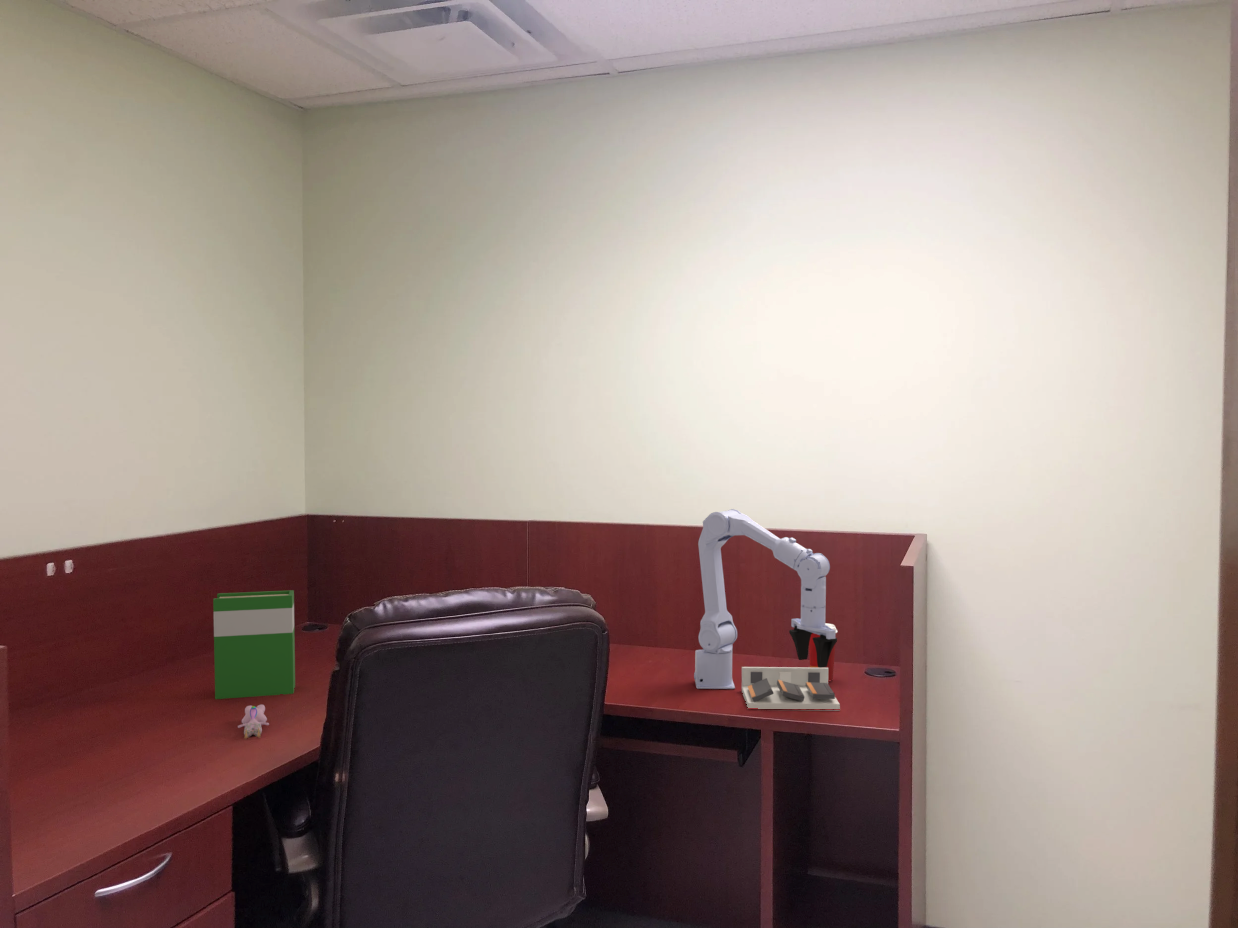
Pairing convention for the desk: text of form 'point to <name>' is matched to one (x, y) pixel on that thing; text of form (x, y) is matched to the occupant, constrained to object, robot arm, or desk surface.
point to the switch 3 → (820, 690)
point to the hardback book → (254, 644)
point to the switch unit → (791, 676)
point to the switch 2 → (790, 690)
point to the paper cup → (814, 655)
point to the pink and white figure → (253, 720)
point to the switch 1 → (760, 690)
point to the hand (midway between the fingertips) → (812, 663)
